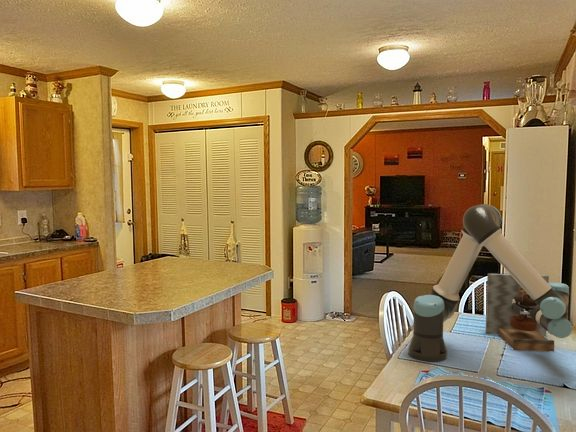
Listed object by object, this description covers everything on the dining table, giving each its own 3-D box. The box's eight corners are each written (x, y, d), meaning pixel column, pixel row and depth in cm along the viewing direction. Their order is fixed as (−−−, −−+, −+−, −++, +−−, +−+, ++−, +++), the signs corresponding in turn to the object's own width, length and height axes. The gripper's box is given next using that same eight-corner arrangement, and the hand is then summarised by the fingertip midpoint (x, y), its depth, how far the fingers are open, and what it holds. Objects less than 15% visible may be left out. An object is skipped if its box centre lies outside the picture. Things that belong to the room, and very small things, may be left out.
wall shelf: (501, 349, 197) (503, 283, 195) (485, 332, 219) (487, 273, 217) (566, 352, 194) (570, 285, 192) (544, 335, 216) (546, 275, 214)
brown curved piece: (536, 334, 197) (536, 287, 195) (507, 330, 203) (508, 285, 201) (539, 324, 210) (539, 280, 208) (512, 321, 215) (512, 278, 214)
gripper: (517, 325, 187) (498, 310, 210) (571, 327, 185) (546, 311, 207) (518, 307, 186) (499, 293, 209) (572, 308, 184) (547, 295, 207)
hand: (522, 302), depth 208 cm, fingers closed on brown curved piece, 7 cm apart
